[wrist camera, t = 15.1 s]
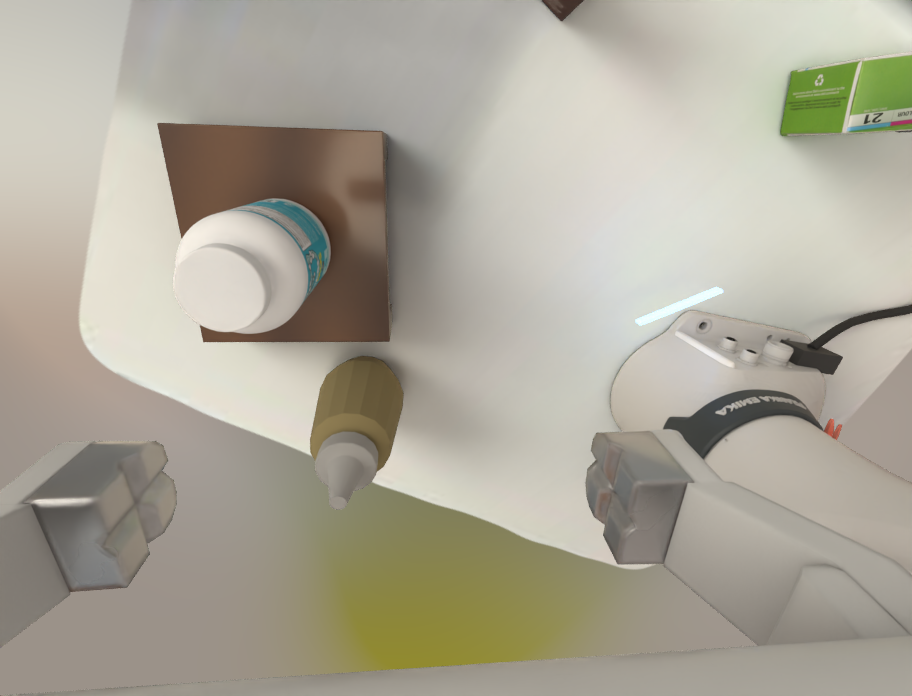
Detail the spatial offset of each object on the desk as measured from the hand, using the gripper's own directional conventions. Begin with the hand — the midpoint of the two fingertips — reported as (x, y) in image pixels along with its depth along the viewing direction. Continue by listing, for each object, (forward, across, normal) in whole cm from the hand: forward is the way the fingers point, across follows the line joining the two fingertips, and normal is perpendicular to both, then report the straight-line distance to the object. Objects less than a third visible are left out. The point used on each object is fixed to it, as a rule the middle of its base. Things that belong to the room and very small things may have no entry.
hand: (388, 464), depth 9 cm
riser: (+35, -10, -2) cm, 37 cm away
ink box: (+35, +38, +11) cm, 53 cm away
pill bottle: (+30, -10, -2) cm, 32 cm away
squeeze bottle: (+35, -5, -16) cm, 39 cm away
